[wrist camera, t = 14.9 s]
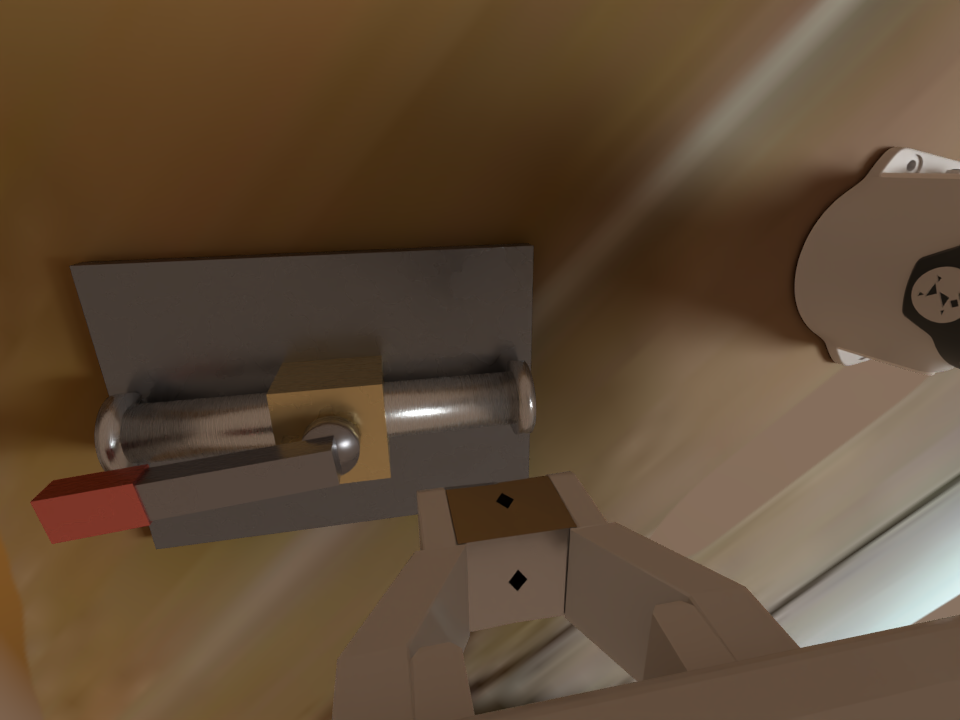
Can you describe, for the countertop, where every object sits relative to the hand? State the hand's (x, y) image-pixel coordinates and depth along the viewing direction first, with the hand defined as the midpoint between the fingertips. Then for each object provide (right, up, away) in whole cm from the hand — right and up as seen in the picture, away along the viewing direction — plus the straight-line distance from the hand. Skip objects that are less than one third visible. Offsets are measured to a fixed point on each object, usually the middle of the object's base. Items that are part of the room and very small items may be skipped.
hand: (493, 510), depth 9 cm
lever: (-16, -3, +22) cm, 27 cm away
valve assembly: (-11, 0, +29) cm, 31 cm away
